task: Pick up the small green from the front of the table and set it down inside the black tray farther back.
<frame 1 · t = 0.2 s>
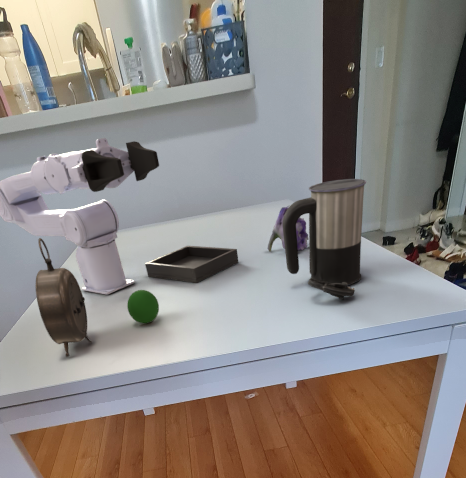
hand: (139, 163, 75), 22 cm above the table, tool horizontal, fingers open, 7 cm apart
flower: (288, 251, 103), on the table
alarm clock: (80, 346, 77), on the table
green ball: (143, 306, 79), point 3 cm above the table
tray: (193, 269, 102), on the table
milk frother: (335, 288, 81), on the table
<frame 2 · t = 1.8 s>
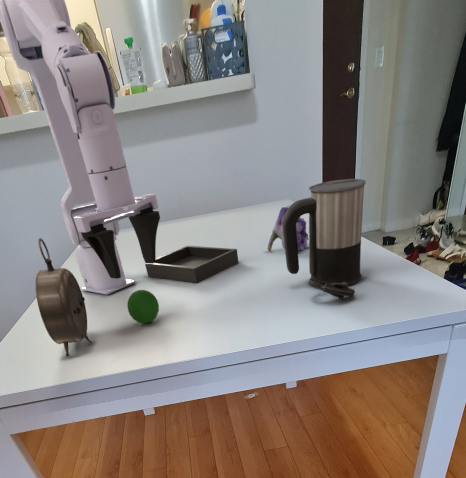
hand: (133, 270, 75), 9 cm above the table, tool pointing down, fingers open, 7 cm apart
nothing on the table moved.
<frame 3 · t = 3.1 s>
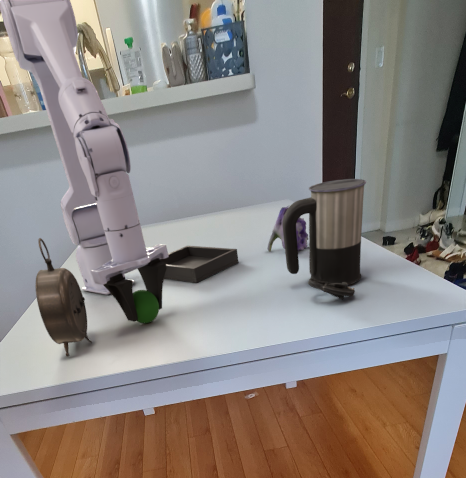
hand: (145, 314, 80), 1 cm above the table, tool pointing down, fingers closed on green ball, 5 cm apart
green ball: (143, 306, 79), point 3 cm above the table, touching gripper
everything else where it was.
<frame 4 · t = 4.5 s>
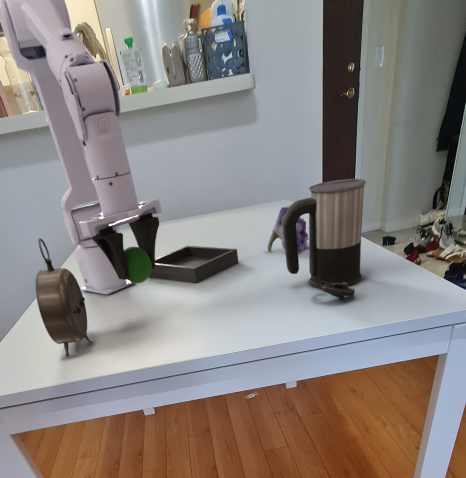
hand: (137, 273, 76), 8 cm above the table, tool pointing down, fingers closed on green ball, 5 cm apart
green ball: (135, 265, 76), point 9 cm above the table, touching gripper
everything else where it was.
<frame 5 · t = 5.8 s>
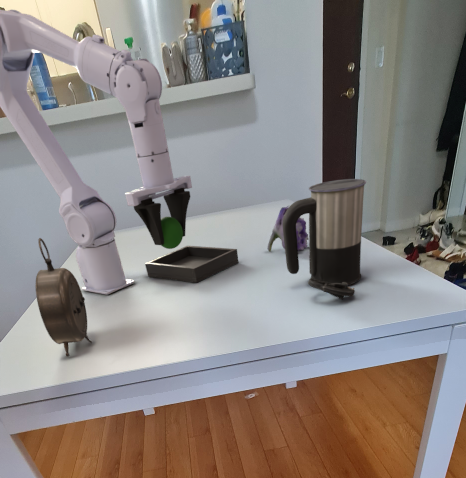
hand: (170, 240, 89), 8 cm above the table, tool pointing down, fingers closed on green ball, 5 cm apart
green ball: (169, 232, 88), point 10 cm above the table, touching gripper
everything else where it was.
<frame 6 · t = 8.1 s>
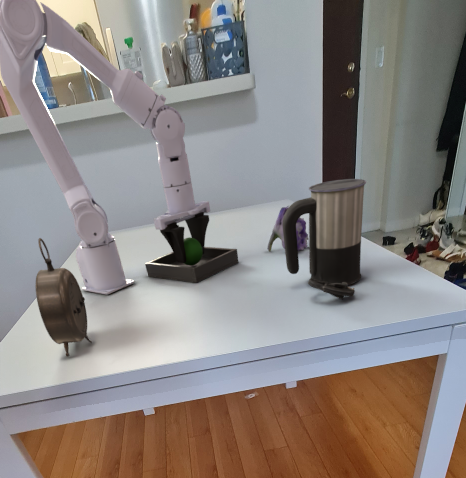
hand: (190, 258, 100), 2 cm above the table, tool pointing down, fingers closed on green ball, 5 cm apart
green ball: (190, 251, 99), point 4 cm above the table, touching gripper
everything else where it was.
when the fingers open (2 cm above the table, at t = 8.7 s): green ball moves 2 cm and tips over, resting on tray.
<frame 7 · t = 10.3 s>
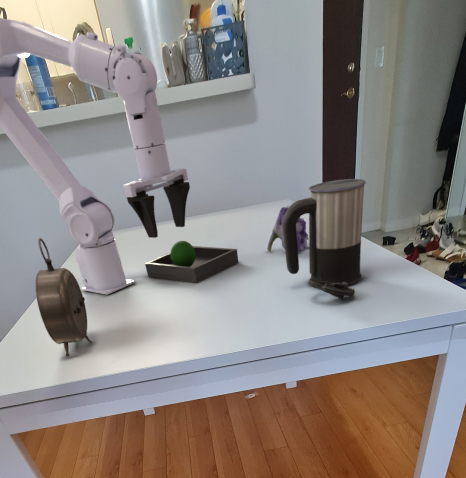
hand: (167, 231, 90), 9 cm above the table, tool pointing down, fingers open, 7 cm apart
green ball: (183, 255, 99), point 3 cm above the table, tilted 40°, touching tray
everything else where it was.
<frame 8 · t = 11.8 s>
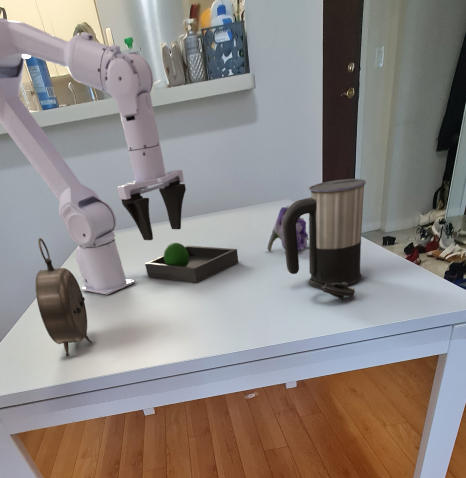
hand: (162, 234, 89), 9 cm above the table, tool pointing down, fingers open, 7 cm apart
green ball: (176, 257, 98), point 3 cm above the table, tilted 75°, touching tray
everything else where it was.
at the end: green ball inside the target area in the tray (3.4 cm from its centre), point 3.5 cm above the tray's base; the gripper is holding nothing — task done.
